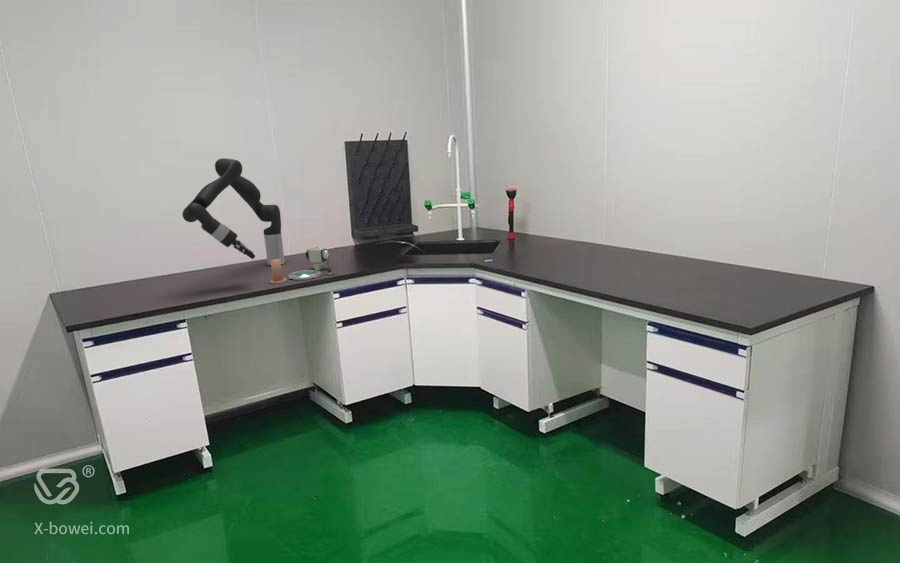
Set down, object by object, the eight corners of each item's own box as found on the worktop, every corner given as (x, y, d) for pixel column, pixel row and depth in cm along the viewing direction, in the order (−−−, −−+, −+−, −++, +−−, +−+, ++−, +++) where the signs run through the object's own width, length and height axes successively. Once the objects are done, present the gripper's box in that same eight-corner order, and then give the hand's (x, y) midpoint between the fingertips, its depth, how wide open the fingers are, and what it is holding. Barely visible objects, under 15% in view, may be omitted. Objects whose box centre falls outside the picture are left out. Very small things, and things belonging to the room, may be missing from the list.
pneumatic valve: (326, 270, 300) (323, 248, 297) (307, 270, 304) (304, 247, 301) (331, 268, 305) (329, 246, 302) (313, 267, 309) (310, 245, 306)
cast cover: (267, 282, 282) (264, 260, 279) (282, 279, 287) (279, 257, 284) (273, 284, 276) (271, 262, 273) (289, 281, 281) (286, 259, 278)
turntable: (282, 277, 291) (282, 273, 291) (311, 271, 301) (311, 268, 300) (296, 282, 279) (296, 278, 279) (326, 275, 289) (326, 272, 288)
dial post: (323, 274, 292) (321, 249, 289) (331, 272, 295) (329, 248, 292) (328, 275, 289) (325, 250, 286) (335, 274, 292) (333, 249, 289)
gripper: (230, 230, 261) (260, 252, 268) (228, 226, 273) (256, 247, 281) (219, 243, 260) (249, 264, 267) (217, 239, 272) (246, 259, 280)
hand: (253, 256), depth 274 cm, fingers open, 8 cm apart
